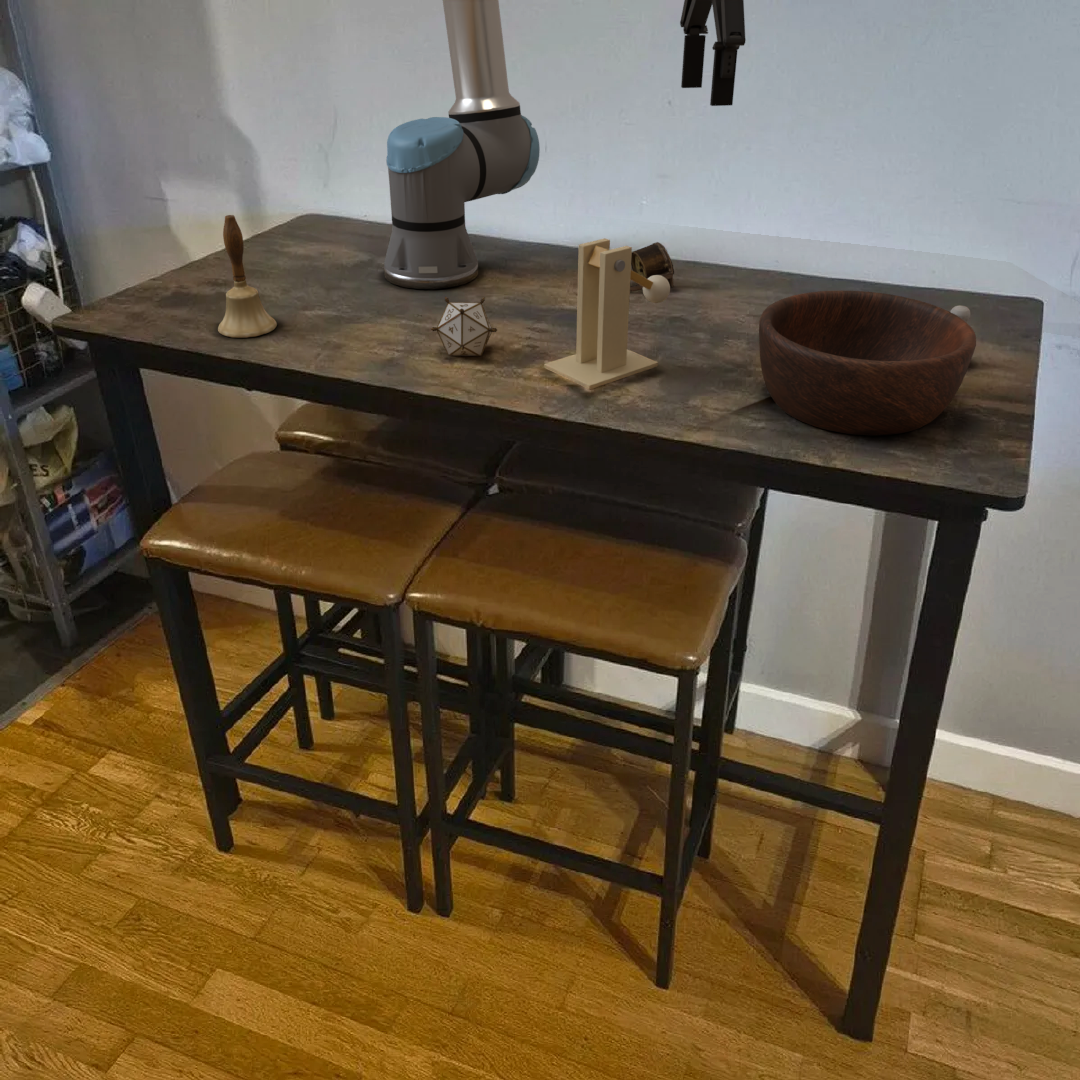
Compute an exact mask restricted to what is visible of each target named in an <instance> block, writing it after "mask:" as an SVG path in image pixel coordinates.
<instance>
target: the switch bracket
mask: <svg viewBox="0 0 1080 1080" xmlns="http://www.w3.org/2000/svg"><path fill="white" fill-rule="evenodd" d="M595 246H599V247H602V248H605V249H608V250H607V251H603V252H600V270H599V269H597V268H595V267H593V266H592V265H590V264H588V263H589V260H590V258H591V256H592V253H593V251H594V249H595ZM632 252H633V247H632V246H629V245H625V246H620V247H615V248H611V239H608V238H600V239H596V240H592V241H587V242H583V243H580V244H578V254H577V256H578V257H577V296H576V297H577V298H576V299H577V300H576V307H577V308H576V341H575V343H576V345H575V347H576V348H575V354H571V355H568V356H565V357H562V358H558V359H556V360H552V361H549V362H545V363H543V368H544V369H546V370H548V371H550V372H552V373H554V374H556V375H558V376H560V377H562V378H565V379H567V380H569V381H570V382H573V383H574V384H577V385H579V386H581V387H583V388H584V389H588V390H589V391H590V390H592V389H595V388H598V387H599V388H600V387H601V386H604V385H607V384H610V383H612V382H616V381H619V380H621V379H624V378H627V377H631V376H633V375H636V374H639V373H642V372H646V371H648V370H650V369H655V368H657V367H658V365H659V362H658V361H656V360H653V359H651V358H649V357H646V356H644V355H642V354H639V353H637V352H634V351H633V350H630V349H628V337H629V318H630V317H629V314H630V297H631V296H630V295H631V291H630V286H631V280H630V277H631V270H632V265H631V256H632Z"/></svg>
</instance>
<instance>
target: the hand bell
mask: <svg viewBox="0 0 1080 1080" xmlns="http://www.w3.org/2000/svg"><path fill="white" fill-rule="evenodd" d="M222 237H223V238H222V239H223V244H224V247H225V250H226V253H227V255H228V258H229V260H230V264H231V270H232V271H231V272H232V279H233V287H232V288H231V289H229V290H227V292H226V293H225V302H226V303H225V313H224V316H223V319H222V321H221V322H219V324H218V327H217V331H218V333H219V334H220V335H221V336H225V337H229V338H233V339H245V338H247V339H248V338H256V337H258V336H263V335H265V334H269V333H271V332H273V331H274V330H275V329H276V328H277V325H278V323H277V321H276V319H274V318H273V316H271V315H270V314H269V313H268V312H267V311H266V310H265V308H264V305H263V304H262V300H261V298H260V295H259V291H258V290H257V289H256V288H255V287H253V286H249V285H248V283H247V280H246V279H247V277H246V275H245V273H246V272H245V269H244V264H243V262H244V261H243V257H244V248H245V247H244V237H243V233H242V230H241V227H240V225H239V223H238V222H237V219H236V216H235V215H234V214H227V215H225V216H224V223H223V230H222Z"/></svg>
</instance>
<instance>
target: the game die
mask: <svg viewBox="0 0 1080 1080" xmlns="http://www.w3.org/2000/svg"><path fill="white" fill-rule="evenodd" d="M444 301H445V303H446V306H445V308H444V311H443V313H442V315H441V317H440V319H439V322H438V323H437V326H433V327H431V328H430V330H431V331H432V332H437V335H438V336H439V339H440V341H441V343H442V346H443V348H444V350H445V352H446V355H447V356H449V357H451V356H455V357H456V356H457V357H458V356H460V357H461V356H462V357H481V356H483V354H484V351H485V349H486V347H487V344H488V342H489V339H490V338H491V335H492V333H496V332H498V329H497V328H496V327H492V324H491V322H490V320H489V318H488V315H487V312H486V310H485V307H484V305H483V304H484V303H485V302H486V299H485V297H482V298H481V299H480V300H479V302H470V301H469V302H465V301H464V302H463V301H459V302H458V301H450V298H449V297H446V296H444Z"/></svg>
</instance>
